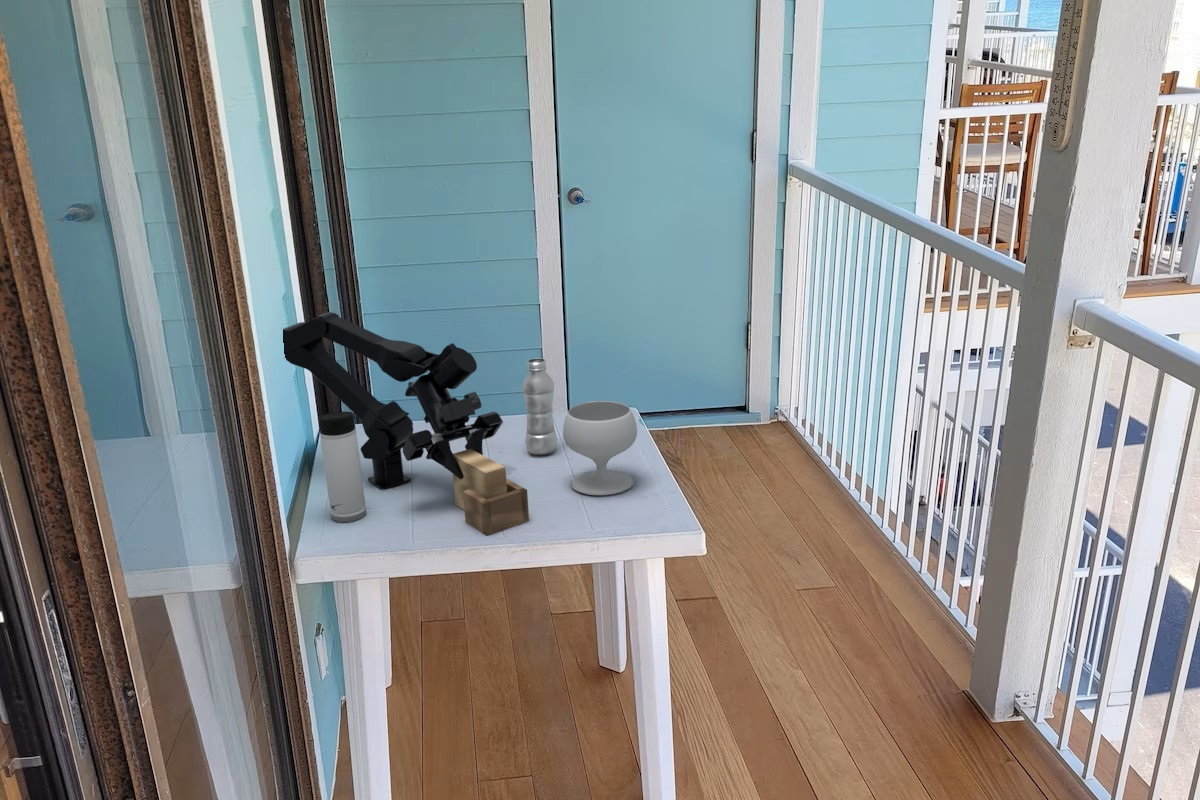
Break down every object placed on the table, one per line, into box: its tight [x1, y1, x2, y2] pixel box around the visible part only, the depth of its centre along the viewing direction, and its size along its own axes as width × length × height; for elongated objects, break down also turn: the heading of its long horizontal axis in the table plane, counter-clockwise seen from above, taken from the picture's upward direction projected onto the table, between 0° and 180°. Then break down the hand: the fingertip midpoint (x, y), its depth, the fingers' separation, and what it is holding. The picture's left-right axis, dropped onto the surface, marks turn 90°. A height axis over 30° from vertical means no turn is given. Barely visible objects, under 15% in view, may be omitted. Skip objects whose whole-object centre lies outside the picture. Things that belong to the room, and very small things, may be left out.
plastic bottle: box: [522, 357, 558, 456], centre depth 206 cm, size 6×7×20 cm
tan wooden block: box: [452, 449, 507, 510], centre depth 180 cm, size 12×4×10 cm, turn 38°
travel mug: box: [317, 411, 367, 523], centre depth 179 cm, size 6×7×20 cm
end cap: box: [463, 478, 530, 536], centre depth 177 cm, size 7×9×6 cm
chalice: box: [562, 400, 638, 496], centre depth 189 cm, size 14×14×15 cm
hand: (472, 474), depth 182 cm, fingers closed on tan wooden block, 4 cm apart
